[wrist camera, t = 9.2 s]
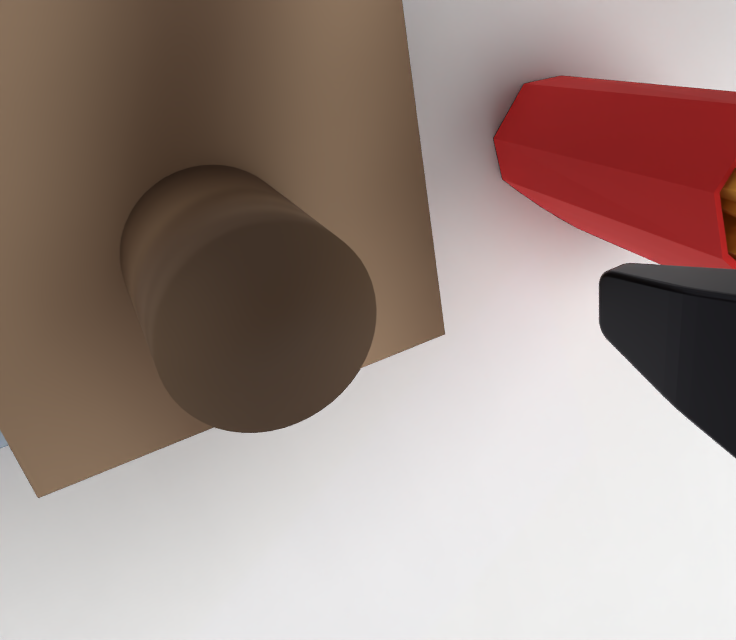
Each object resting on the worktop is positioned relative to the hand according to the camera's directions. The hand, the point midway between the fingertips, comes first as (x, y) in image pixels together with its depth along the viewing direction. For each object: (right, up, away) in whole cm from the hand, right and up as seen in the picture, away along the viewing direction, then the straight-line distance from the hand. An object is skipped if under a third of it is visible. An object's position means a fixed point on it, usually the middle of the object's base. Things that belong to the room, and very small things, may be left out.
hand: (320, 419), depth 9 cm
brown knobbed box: (-5, +6, +10) cm, 12 cm away
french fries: (+8, +7, +16) cm, 19 cm away
